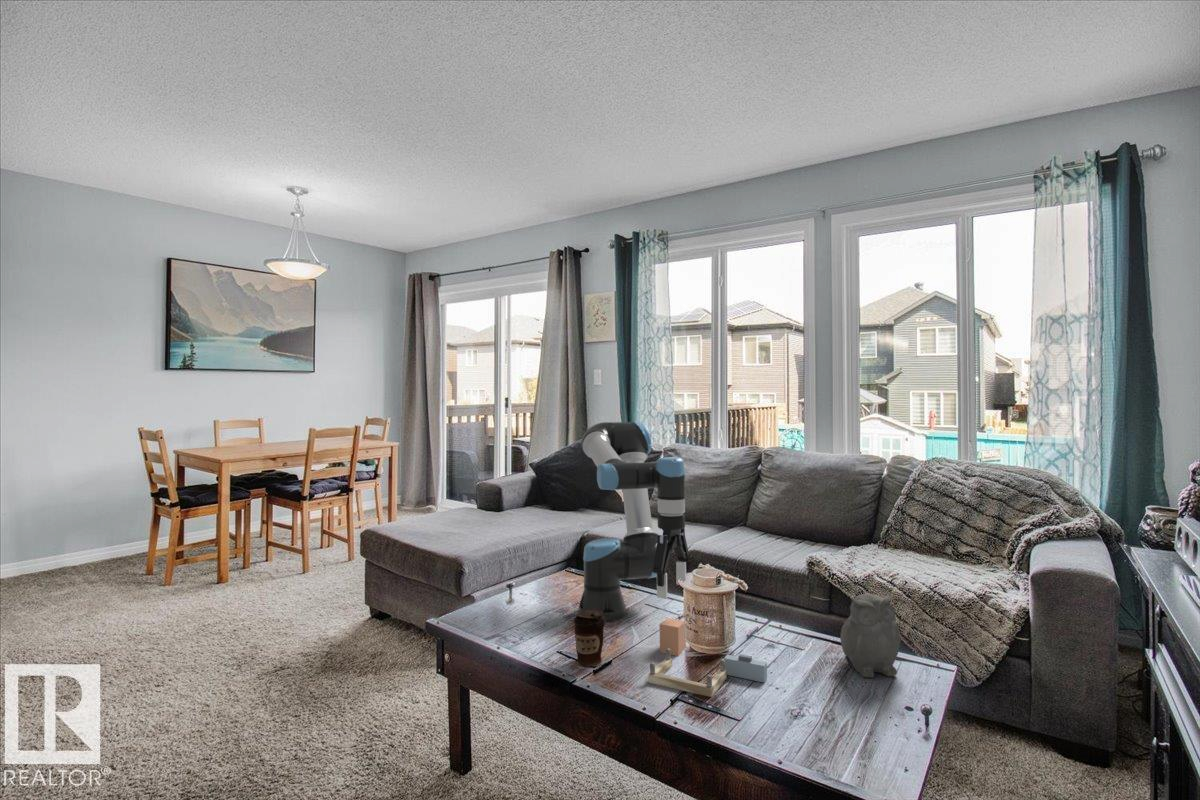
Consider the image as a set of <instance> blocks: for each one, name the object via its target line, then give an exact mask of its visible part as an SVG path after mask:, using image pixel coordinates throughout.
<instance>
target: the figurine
mask: <svg viewBox="0 0 1200 800" xmlns="http://www.w3.org/2000/svg"><path fill="white" fill-rule="evenodd" d="M850 600H851V604H850V606H849V611H850V614H849V616H848V617H847V619H846V620H845V621H844V622H843V625H842V626H841V629H840V630H841V631H840V635H839V636H840V645H841V648H842V651H843V653H844V655H845V656H846V657H847V658H849V660H850V663H851V664H852V666H853V668H854V670H855V671H856V672H858V673H859V674H860V675H861V677H864V678H874V676H875V673H880V674H883V675H884V676H887V677H895V676H896V675H897V673H898V670H897V668H896V667H894V663H895V662H896V660H897V657H898V654H899V648H900V646H901V642H902V641H901V635H900V634H901V633H900V628H899V625H898V623H897V622H896V621H895V618H896V610H895V608H894V606H893V605H891V601H892V600H893V595H892V593H891V592H888V593H887V594H886V595H885V596H884V597H882V596H880V595H878V594H877V595H876V594H872V593H861V594H859V595H857V596H855V597H852V596H850Z"/></svg>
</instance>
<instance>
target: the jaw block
mask: <svg viewBox="0 0 1200 800" xmlns="http://www.w3.org/2000/svg"><path fill="white" fill-rule="evenodd" d="M684 621H685V620H681V619H676V618H670V617H667V618H665V619H664V620H663V621H661V622H660V623H659V652H660V653H665V654H666V649H667V648H669V649H671V656H677V657H679V656H680V655H681V654H682V653H683V652H684V651H685V650H686V649H685V648H687V639H686V640H685V624H684ZM684 649H685V650H684ZM683 650H684V651H683ZM682 651H683V652H682Z"/></svg>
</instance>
